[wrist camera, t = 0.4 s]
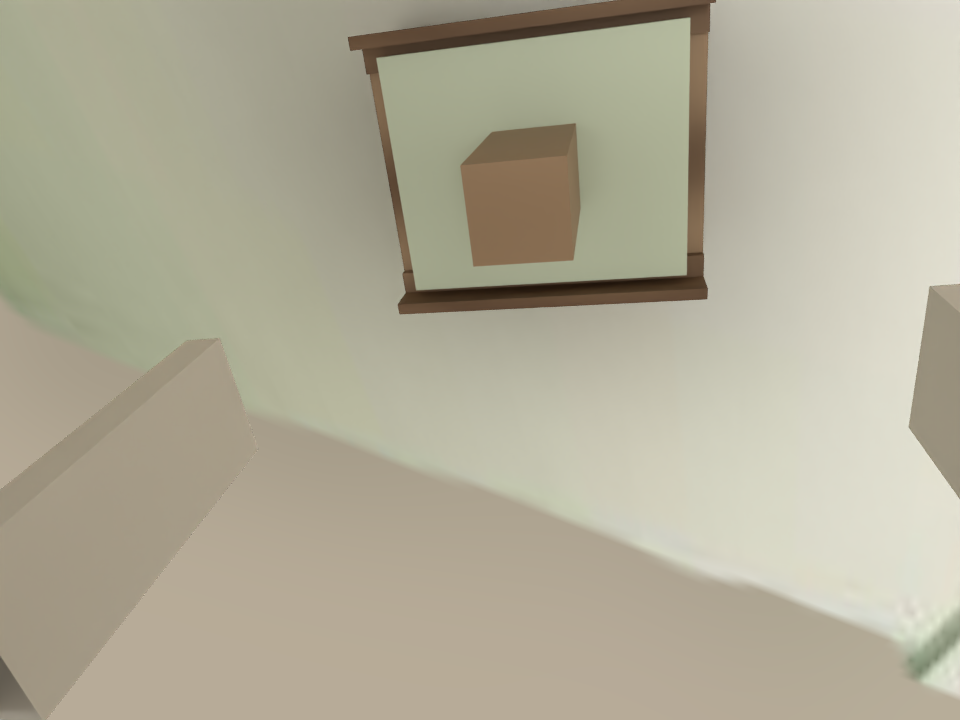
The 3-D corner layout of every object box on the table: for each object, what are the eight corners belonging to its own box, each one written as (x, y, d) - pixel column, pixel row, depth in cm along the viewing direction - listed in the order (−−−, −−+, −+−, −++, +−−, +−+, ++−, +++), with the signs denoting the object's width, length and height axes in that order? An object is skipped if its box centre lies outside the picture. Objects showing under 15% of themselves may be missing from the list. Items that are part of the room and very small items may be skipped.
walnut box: (398, 31, 34) (347, 36, 27) (693, -9, 31) (716, -14, 24) (434, 262, 39) (399, 314, 32) (689, 246, 36) (707, 299, 30)
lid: (381, 56, 29) (311, 71, 22) (688, 17, 26) (716, 20, 19) (420, 284, 33) (371, 356, 26) (684, 268, 31) (707, 343, 24)
